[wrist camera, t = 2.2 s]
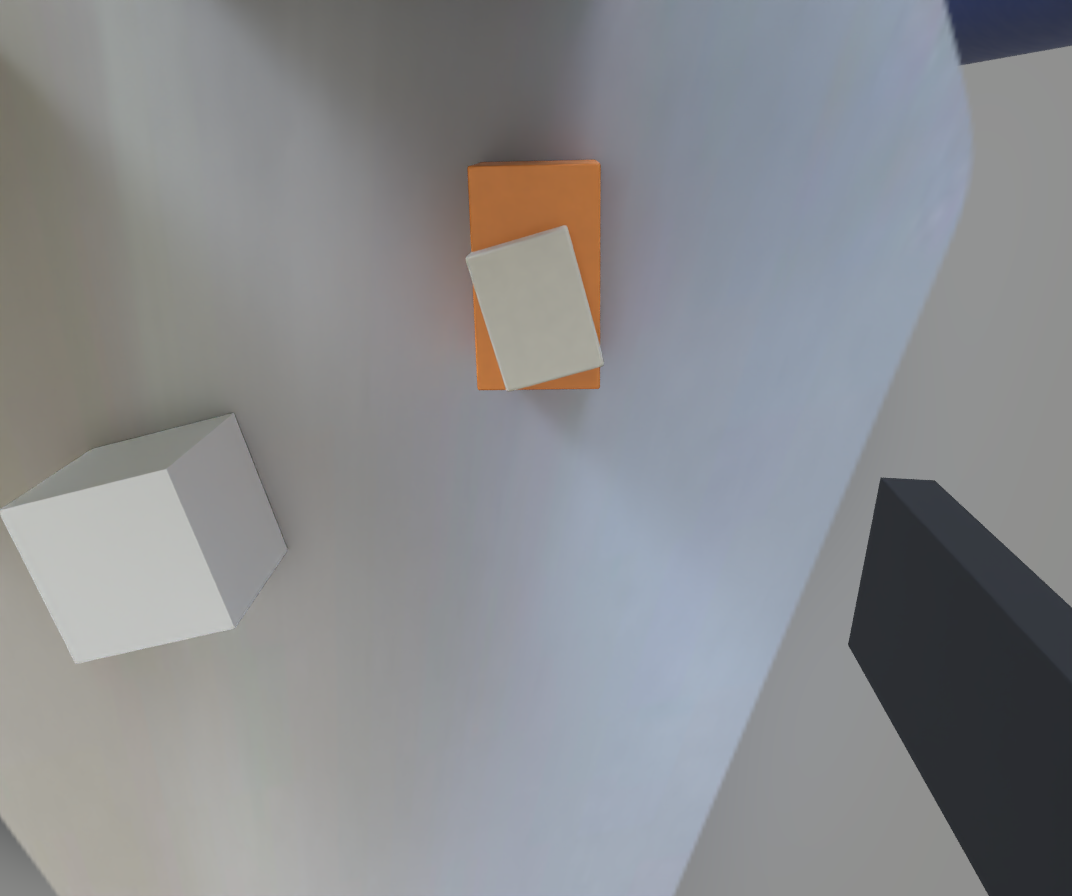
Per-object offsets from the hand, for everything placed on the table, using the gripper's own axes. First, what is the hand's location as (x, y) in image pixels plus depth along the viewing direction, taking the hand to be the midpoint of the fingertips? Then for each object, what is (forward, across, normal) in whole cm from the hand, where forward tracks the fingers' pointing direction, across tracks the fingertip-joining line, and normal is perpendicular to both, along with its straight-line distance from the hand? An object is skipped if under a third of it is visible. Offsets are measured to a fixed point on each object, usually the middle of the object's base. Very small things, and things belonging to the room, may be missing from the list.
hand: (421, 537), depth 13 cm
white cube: (+20, -12, -9) cm, 25 cm away
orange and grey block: (+20, +1, +1) cm, 20 cm away
